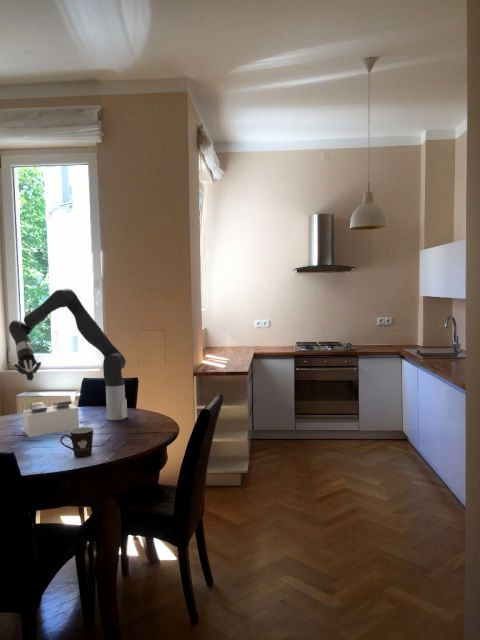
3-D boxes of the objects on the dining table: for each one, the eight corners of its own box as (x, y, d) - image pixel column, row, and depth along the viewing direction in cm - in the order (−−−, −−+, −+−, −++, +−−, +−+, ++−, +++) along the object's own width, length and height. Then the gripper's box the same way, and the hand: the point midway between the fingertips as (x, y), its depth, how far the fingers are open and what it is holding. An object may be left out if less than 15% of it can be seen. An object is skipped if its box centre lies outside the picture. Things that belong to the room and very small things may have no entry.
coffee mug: (97, 451, 189) (96, 427, 189) (89, 459, 181) (87, 433, 180) (70, 451, 190) (69, 427, 190) (59, 458, 182) (58, 433, 181)
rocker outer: (42, 404, 224) (42, 401, 224) (46, 410, 218) (46, 407, 217) (29, 406, 221) (29, 403, 220) (32, 412, 214) (32, 409, 214)
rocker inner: (67, 403, 230) (66, 400, 230) (71, 404, 224) (71, 400, 224) (54, 405, 227) (53, 402, 227) (58, 406, 220) (57, 402, 220)
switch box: (71, 423, 234) (71, 401, 233) (78, 428, 224) (77, 406, 224) (23, 431, 221) (22, 408, 221) (29, 437, 212) (27, 413, 211)
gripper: (11, 348, 234) (16, 376, 224) (39, 346, 241) (46, 373, 232) (10, 358, 239) (15, 385, 229) (37, 355, 246) (44, 382, 237)
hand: (30, 379), depth 231 cm, fingers closed
